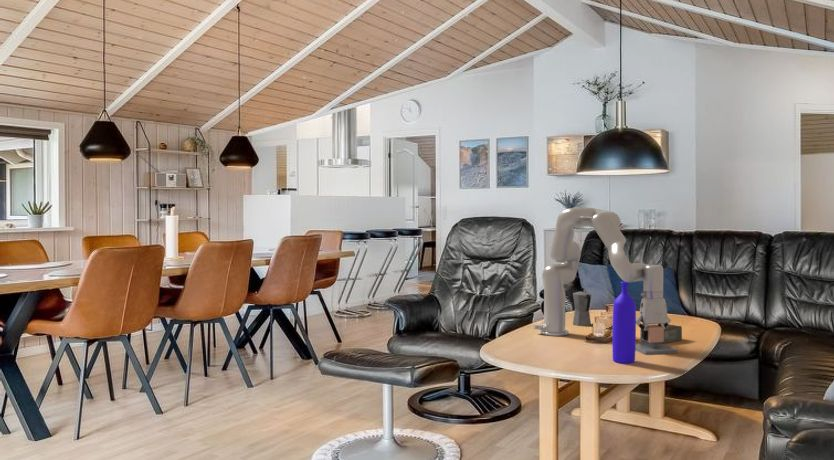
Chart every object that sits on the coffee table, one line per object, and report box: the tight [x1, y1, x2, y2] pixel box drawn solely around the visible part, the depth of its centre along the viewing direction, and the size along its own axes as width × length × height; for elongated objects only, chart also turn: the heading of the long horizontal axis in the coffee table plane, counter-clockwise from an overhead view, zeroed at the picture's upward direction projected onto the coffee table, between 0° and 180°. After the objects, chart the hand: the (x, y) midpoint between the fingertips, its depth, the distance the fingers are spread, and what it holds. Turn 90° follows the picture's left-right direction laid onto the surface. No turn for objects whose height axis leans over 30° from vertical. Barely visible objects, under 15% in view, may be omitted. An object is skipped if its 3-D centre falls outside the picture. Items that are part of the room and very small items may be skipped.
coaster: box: [635, 342, 679, 355], centre depth 270 cm, size 14×14×1 cm
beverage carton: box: [639, 323, 683, 345], centre depth 288 cm, size 8×19×7 cm, turn 124°
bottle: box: [612, 281, 637, 365], centre depth 250 cm, size 8×8×30 cm
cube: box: [642, 324, 664, 343], centre depth 270 cm, size 6×6×6 cm
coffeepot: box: [572, 287, 592, 327], centre depth 325 cm, size 15×9×18 cm, turn 9°
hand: (652, 339), depth 270 cm, fingers closed on cube, 6 cm apart
